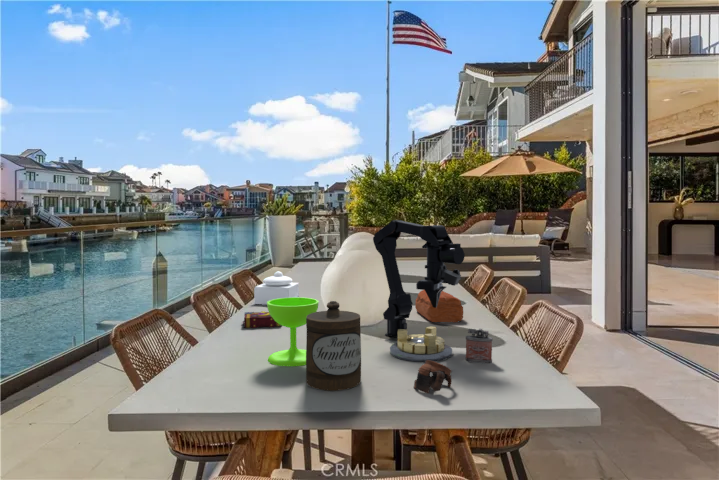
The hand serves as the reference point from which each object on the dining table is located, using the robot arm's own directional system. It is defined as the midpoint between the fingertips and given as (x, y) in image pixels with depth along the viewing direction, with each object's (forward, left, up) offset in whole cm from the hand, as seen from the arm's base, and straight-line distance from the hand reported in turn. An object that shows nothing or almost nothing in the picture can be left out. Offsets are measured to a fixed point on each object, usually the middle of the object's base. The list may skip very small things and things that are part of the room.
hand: (434, 307), depth 177 cm
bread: (-19, +46, -14) cm, 51 cm away
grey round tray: (0, -11, -13) cm, 17 cm away
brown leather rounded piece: (+18, -41, -13) cm, 46 cm away
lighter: (+19, -10, -13) cm, 26 cm away
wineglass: (-31, -38, -13) cm, 51 cm away
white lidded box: (-102, +36, -14) cm, 109 cm away
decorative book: (-73, -7, -14) cm, 74 cm away
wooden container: (-8, -49, -13) cm, 52 cm away
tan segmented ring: (0, -11, -11) cm, 15 cm away
